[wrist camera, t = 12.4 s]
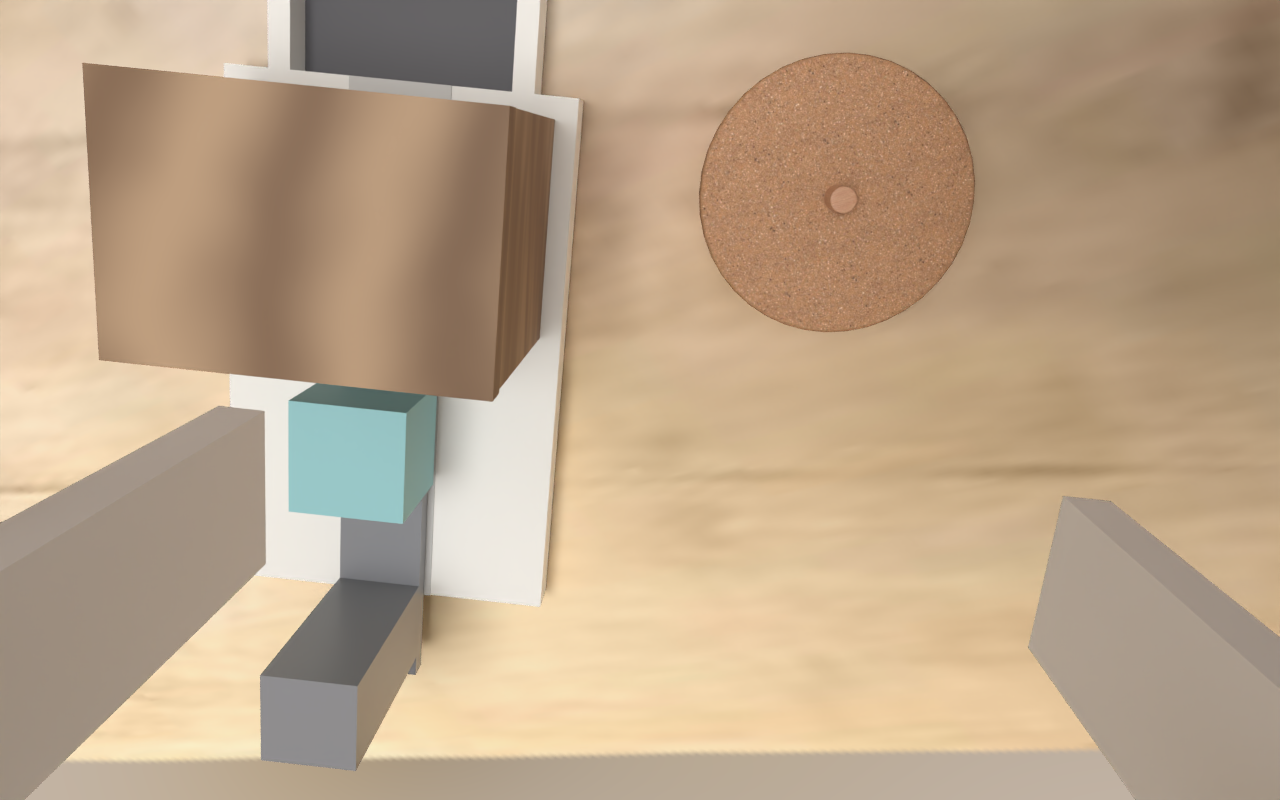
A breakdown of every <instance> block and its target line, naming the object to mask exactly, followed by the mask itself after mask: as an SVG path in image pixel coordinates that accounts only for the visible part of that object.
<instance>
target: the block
mask: <svg viewBox="0 0 1280 800" xmlns="http://www.w3.org/2000/svg"><path fill="white" fill-rule="evenodd" d="M436 403H437V396H433V395H423V394H414V393H405V392H395V391H386V390H376V389H367V388H357V387H348V386H339V385H329V384H320V383H316V384H314V385H313V386H311V387H310V388H308V389H306V390H305V391H303V392H302V393H300V394H298V395H297V396H295V397H293V398H292V399H290V400H289V401H288V474H289V512H297V513H306V514H315V515H325V516H334V517H343V518H352V519H361V520H370V521H380V522H389V523H398V524H403V523H404V522H405V521H406V519H407V518H408V517H409V515H410V514H411V513H412V511H413V510H414V509H415V507H416V506H417V505H418V503H419V502H420V501H421V500H422V498H423V497H424V496H425V494H426V493H427V492H428V490H429V489H430V488H431V486H432V485H433V475H434V451H435V427H436Z"/></svg>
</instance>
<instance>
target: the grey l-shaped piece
mask: <svg viewBox="0 0 1280 800" xmlns="http://www.w3.org/2000/svg"><path fill="white" fill-rule="evenodd" d="M427 499H428V492H427V493H426V494H425V496H424V497H423V498H422V500H421V501H420V502H419V503H418V505H417V506H416V507H415V509H414V510H413V511H412V513H411V514H410V515H409V517H408V518H407V519H406V521H405V522H404V523H403V524H398V523H389V522H380V521H370V520H361V519H352V518H343V517H341V533H340V578H339V579H338V581H337V582H336V583H335V584H334V585H333V587H332V588H331V589H330V590H329V592H328V593H327V594H326V595H325V597H324V598H323V599H322V600H321V601H320V603H319V604H318V605H317V606H316V608H315V609H314V610H313V611H312V612H311V614H310V615H309V616H308V617H307V619H306V620H305V621H304V622H303V624H302V625H301V626H300V627H299V628H298V630H297V631H296V632H295V633H294V635H293V636H292V637H291V638H290V639H289V641H288V642H287V643H286V644H285V646H284V647H283V648H282V649H281V651H280V652H279V653H278V654H277V655H276V657H275V658H274V659H273V660H272V662H271V663H270V664H269V665H268V666H267V668H266V669H265V670H264V671H263V673H262V674H261V675H260V701H261V760H265V761H274V762H282V763H292V764H301V765H309V766H318V767H327V768H335V769H344V770H353V771H356V770H357V768H358V766H359V764H360V762H361V760H362V758H363V756H364V755H365V753H366V751H367V749H368V747H369V745H370V743H371V741H372V740H373V738H374V736H375V734H376V732H377V730H378V728H379V726H380V725H381V723H382V721H383V719H384V717H385V715H386V713H387V711H388V710H389V708H390V706H391V704H392V702H393V700H394V698H395V696H396V694H397V693H398V691H399V689H400V687H401V685H402V683H403V681H404V679H405V678H406V676H407V674H413V675H416V673H417V671H418V669H419V667H420V665H421V649H422V624H423V599H424V574H425V549H426V524H427Z"/></svg>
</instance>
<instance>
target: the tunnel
mask: <svg viewBox="0 0 1280 800" xmlns="http://www.w3.org/2000/svg"><path fill="white" fill-rule="evenodd" d="M82 64H83V82H84V100H85V117H86V135H87V153H88V171H89V188H90V206H91V224H92V242H93V260H94V277H95V295H96V313H97V331H98V349H99V360H103V361H113V362H122V363H131V364H141V365H150V366H160V367H169V368H179V369H188V370H197V371H207V372H216V373H226V374H235V375H244V376H254V377H263V378H273V379H282V380H292V381H301V382H310V383H320V384H329V385H339V386H348V387H357V388H367V389H376V390H386V391H395V392H405V393H414V394H423V395H433V396H442V397H452V398H461V399H471V400H480V401H489V402H493V401H494V399H495V398H496V397H497V396H498V394H499V389H500V388H501V387H502V385H503V384H504V383H505V382H506V380H507V379H508V378H509V377H510V375H511V374H512V373H513V372H514V370H515V369H516V368H517V366H518V365H519V364H520V363H521V361H522V360H523V359H524V358H525V356H526V355H527V354H528V352H529V351H530V350H531V349H532V347H533V346H534V345H535V344H536V342H537V341H538V340H539V339H540V326H541V312H542V297H543V283H544V269H545V255H546V240H547V226H548V212H549V198H550V184H551V169H552V155H553V141H554V127H555V119H551V118H548V117H544V116H541V115H538V114H534V113H531V112H527V111H524V110H521V109H517V108H516V107H512V106H508V105H498V104H488V103H478V102H468V101H458V100H448V99H438V98H428V97H418V96H408V95H398V94H388V93H378V92H368V91H358V90H348V89H338V88H328V87H318V86H308V85H298V84H288V83H278V82H268V81H258V80H248V79H238V78H228V77H218V76H208V75H198V74H188V73H178V72H168V71H158V70H148V69H138V68H128V67H118V66H108V65H99V64H89V63H82Z"/></svg>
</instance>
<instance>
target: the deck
mask: <svg viewBox="0 0 1280 800" xmlns="http://www.w3.org/2000/svg"><path fill="white" fill-rule="evenodd" d="M267 3H268V67H259V66H249V65H239V64H229V63H224V77H228V78H238V79H248V80H258V81H268V82H278V83H288V84H298V85H308V86H318V87H328V88H338V89H348V90H358V91H368V92H378V93H388V94H398V95H408V96H418V97H428V98H438V99H448V100H458V101H468V102H478V103H488V104H498V105H508V106H512V107H516V108H517V109H521V110H524V111H527V112H531V113H534V114H538V115H541V116H544V117H548V118H551V119H555V127H554V141H553V155H552V169H551V184H550V198H549V212H548V226H547V240H546V255H545V269H544V283H543V297H542V312H541V326H540V339H539V340H538V341H537V342H536V344H535V345H534V346H533V347H532V349H531V350H530V351H529V352H528V354H527V355H526V356H525V358H524V359H523V360H522V361H521V363H520V364H519V365H518V366H517V368H516V369H515V370H514V372H513V373H512V374H511V375H510V377H509V378H508V379H507V380H506V382H505V383H504V384H503V385H502V387H501V388H500V389H499V394H498V396H497V397H496V398H495V399H494V401H493V402H489V401H480V400H471V399H461V398H452V397H442V396H437V403H436V427H435V451H434V475H433V485H432V486H431V488H430V489H429V490H428V499H427V524H426V549H425V574H424V595H429V596H430V595H438V596H447V597H456V598H465V599H474V600H483V601H492V602H501V603H510V604H519V605H529V606H538V607H540V606H541V603H542V599H543V596H544V593H545V590H546V580H547V567H548V554H549V541H550V528H551V515H552V502H553V489H554V477H555V464H556V451H557V438H558V425H559V412H560V399H561V386H562V374H563V361H564V348H565V335H566V322H567V309H568V296H569V283H570V271H571V258H572V245H573V232H574V219H575V206H576V193H577V180H578V168H579V155H580V142H581V129H582V116H583V103H584V101H583V100H581V99H579V98H570V97H560V96H550V95H541V89H542V74H543V59H544V44H545V29H546V14H547V0H267ZM314 384H316V383H310V382H301V381H292V380H282V379H273V378H263V377H254V376H244V375H235V374H230V407H234V408H243V409H252V410H262V411H265V510H266V564H265V565H264V566H263V567H262V568H261V569H260V570H259V571H258V572H257V573H256V574H255V575H256V576H265V577H274V578H283V579H292V580H302V581H311V582H320V583H329V584H335V583H336V582H337V581H338V579H339V578H340V533H341V517H334V516H325V515H315V514H306V513H297V512H289V474H288V401H289V400H290V399H292V398H293V397H295V396H297V395H298V394H300V393H302V392H303V391H305V390H306V389H308V388H310V387H311V386H313V385H314Z"/></svg>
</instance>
